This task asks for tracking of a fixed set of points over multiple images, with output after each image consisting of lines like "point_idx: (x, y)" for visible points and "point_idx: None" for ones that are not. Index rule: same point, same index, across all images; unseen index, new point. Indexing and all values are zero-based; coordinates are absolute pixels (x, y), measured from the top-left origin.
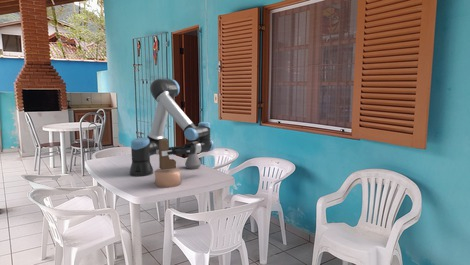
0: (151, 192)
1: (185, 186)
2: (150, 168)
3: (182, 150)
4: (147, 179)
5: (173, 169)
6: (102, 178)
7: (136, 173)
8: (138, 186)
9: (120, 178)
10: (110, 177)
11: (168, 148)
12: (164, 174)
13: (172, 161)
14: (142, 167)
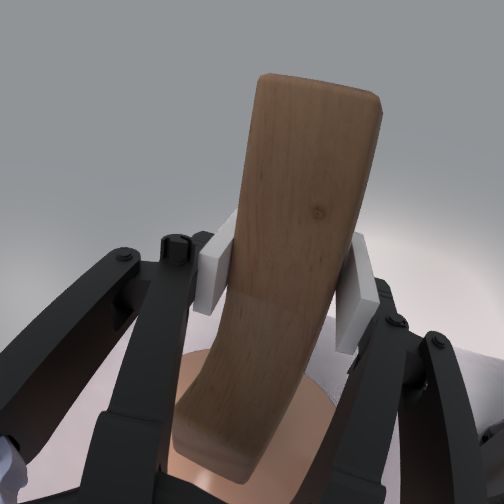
0: (194, 331)
1: (83, 457)
2: (496, 494)
3: (39, 323)
4: (398, 455)
5: (229, 483)
6: (483, 357)
7: (479, 435)
8: (317, 366)
9: (466, 389)
10: (487, 375)
11: (240, 213)
12: (192, 354)
13: (193, 381)
14: (498, 443)
